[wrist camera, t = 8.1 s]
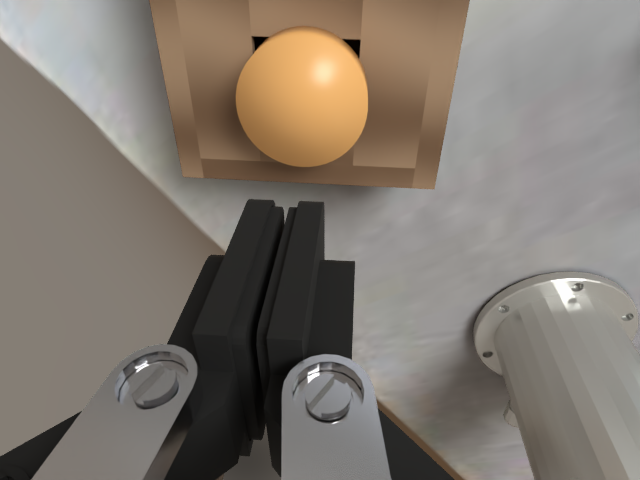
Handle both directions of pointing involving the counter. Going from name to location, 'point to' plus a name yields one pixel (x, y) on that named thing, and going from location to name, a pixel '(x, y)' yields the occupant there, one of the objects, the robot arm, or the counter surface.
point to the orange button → (303, 97)
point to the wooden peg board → (371, 48)
